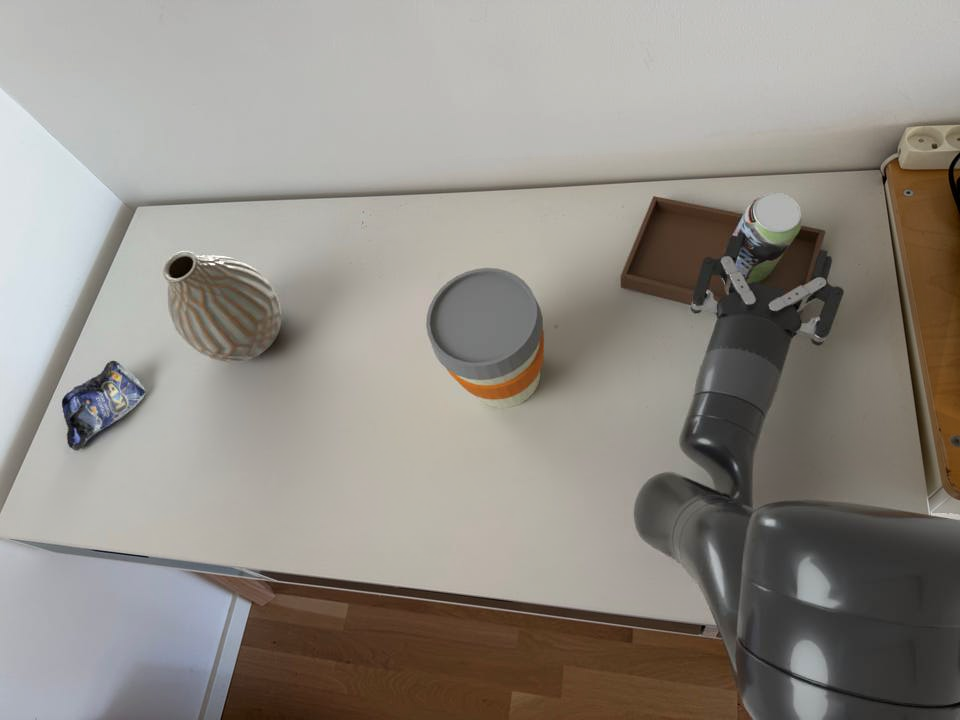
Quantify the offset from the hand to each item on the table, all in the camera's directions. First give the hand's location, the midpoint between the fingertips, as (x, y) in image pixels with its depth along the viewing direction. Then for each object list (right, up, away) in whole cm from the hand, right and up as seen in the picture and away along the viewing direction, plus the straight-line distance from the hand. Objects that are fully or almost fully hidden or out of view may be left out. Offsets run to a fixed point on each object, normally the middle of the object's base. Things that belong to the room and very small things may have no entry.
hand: (780, 245), depth 72 cm
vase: (-65, -9, +21) cm, 69 cm away
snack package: (-86, -20, +20) cm, 91 cm away
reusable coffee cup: (-30, -15, +10) cm, 35 cm away
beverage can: (+1, -2, +9) cm, 9 cm away
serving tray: (-3, -1, +11) cm, 11 cm away
